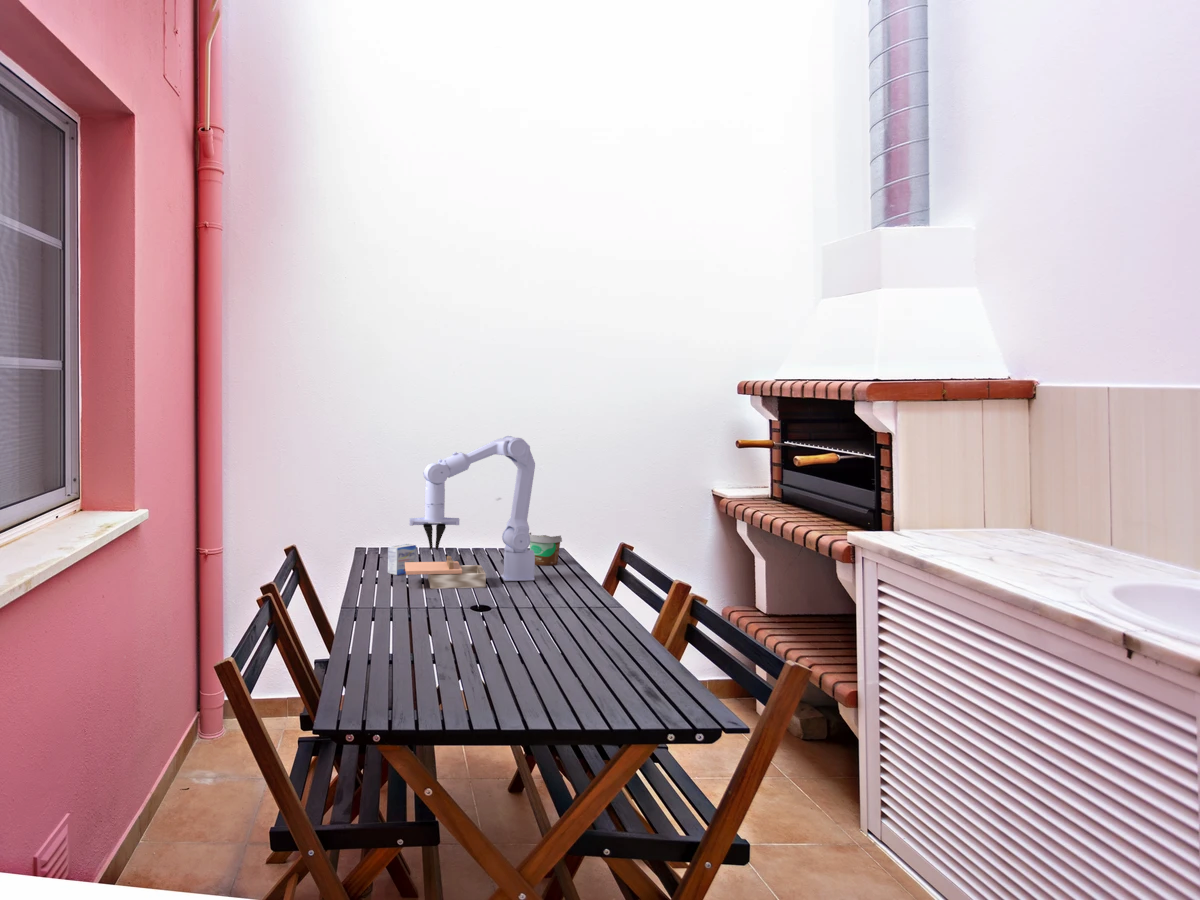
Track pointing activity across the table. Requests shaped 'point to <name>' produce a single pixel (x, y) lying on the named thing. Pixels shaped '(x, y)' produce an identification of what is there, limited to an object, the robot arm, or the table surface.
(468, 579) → the storage case
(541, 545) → the food container
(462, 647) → the table surface
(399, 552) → the medicine box
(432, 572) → the sliding lid
